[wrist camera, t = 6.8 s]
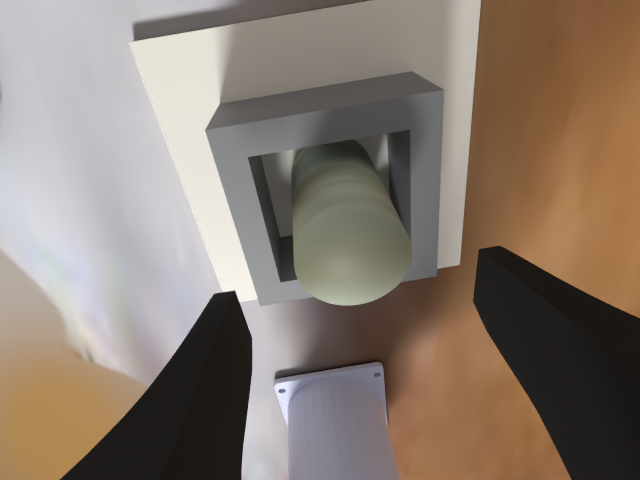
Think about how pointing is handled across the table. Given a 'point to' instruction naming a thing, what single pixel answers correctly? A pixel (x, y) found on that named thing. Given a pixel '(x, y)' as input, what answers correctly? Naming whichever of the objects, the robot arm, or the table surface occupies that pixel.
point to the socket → (317, 125)
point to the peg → (345, 226)
